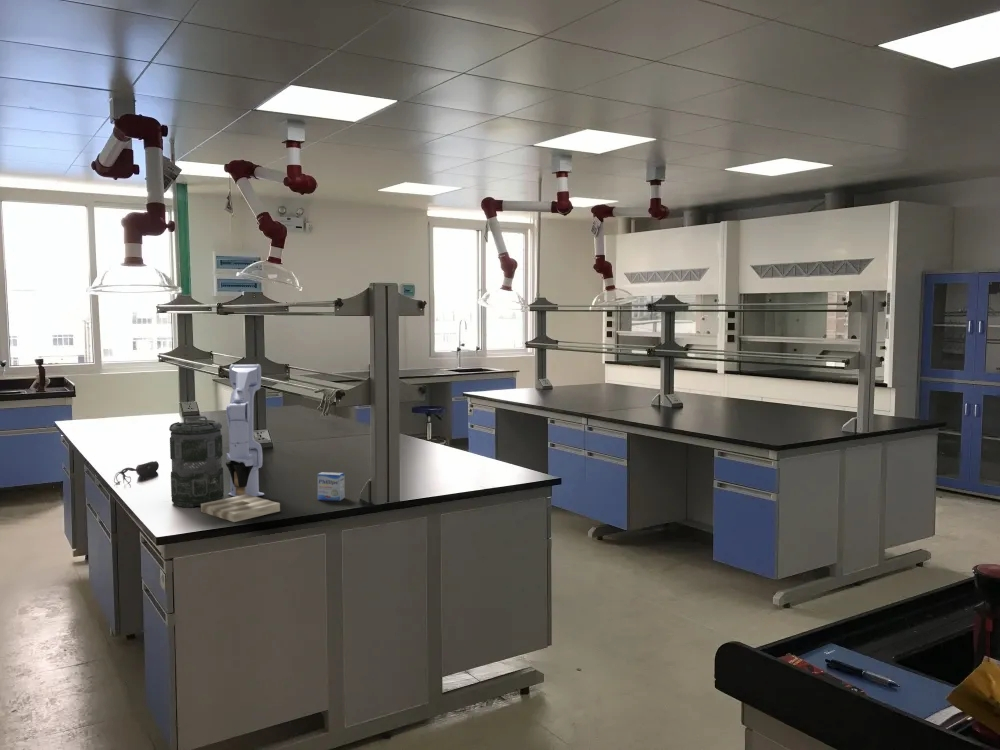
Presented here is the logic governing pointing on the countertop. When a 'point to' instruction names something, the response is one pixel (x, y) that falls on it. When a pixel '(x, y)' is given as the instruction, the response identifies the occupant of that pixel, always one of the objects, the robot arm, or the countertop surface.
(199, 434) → the canister
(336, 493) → the medicine box
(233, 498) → the board
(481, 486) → the countertop surface
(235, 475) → the peg
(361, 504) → the countertop surface
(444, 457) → the countertop surface
